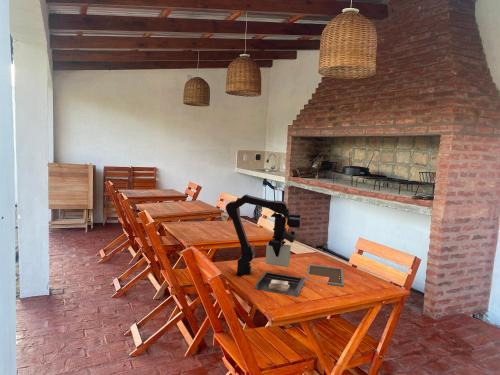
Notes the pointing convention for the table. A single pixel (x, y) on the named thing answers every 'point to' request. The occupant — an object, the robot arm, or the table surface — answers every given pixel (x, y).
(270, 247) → the tall sheet
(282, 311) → the table surface
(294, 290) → the tray
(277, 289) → the offcut bottom
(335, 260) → the table surface
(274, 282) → the offcut top
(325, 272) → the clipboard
